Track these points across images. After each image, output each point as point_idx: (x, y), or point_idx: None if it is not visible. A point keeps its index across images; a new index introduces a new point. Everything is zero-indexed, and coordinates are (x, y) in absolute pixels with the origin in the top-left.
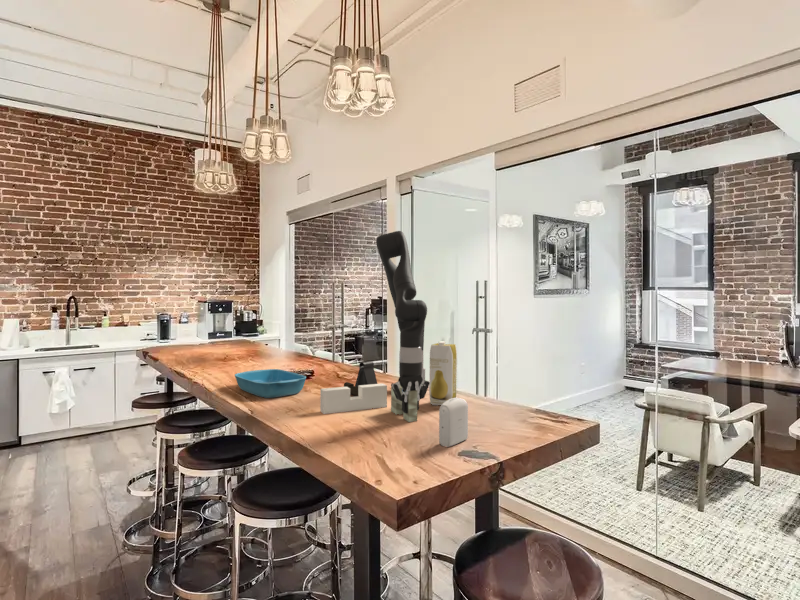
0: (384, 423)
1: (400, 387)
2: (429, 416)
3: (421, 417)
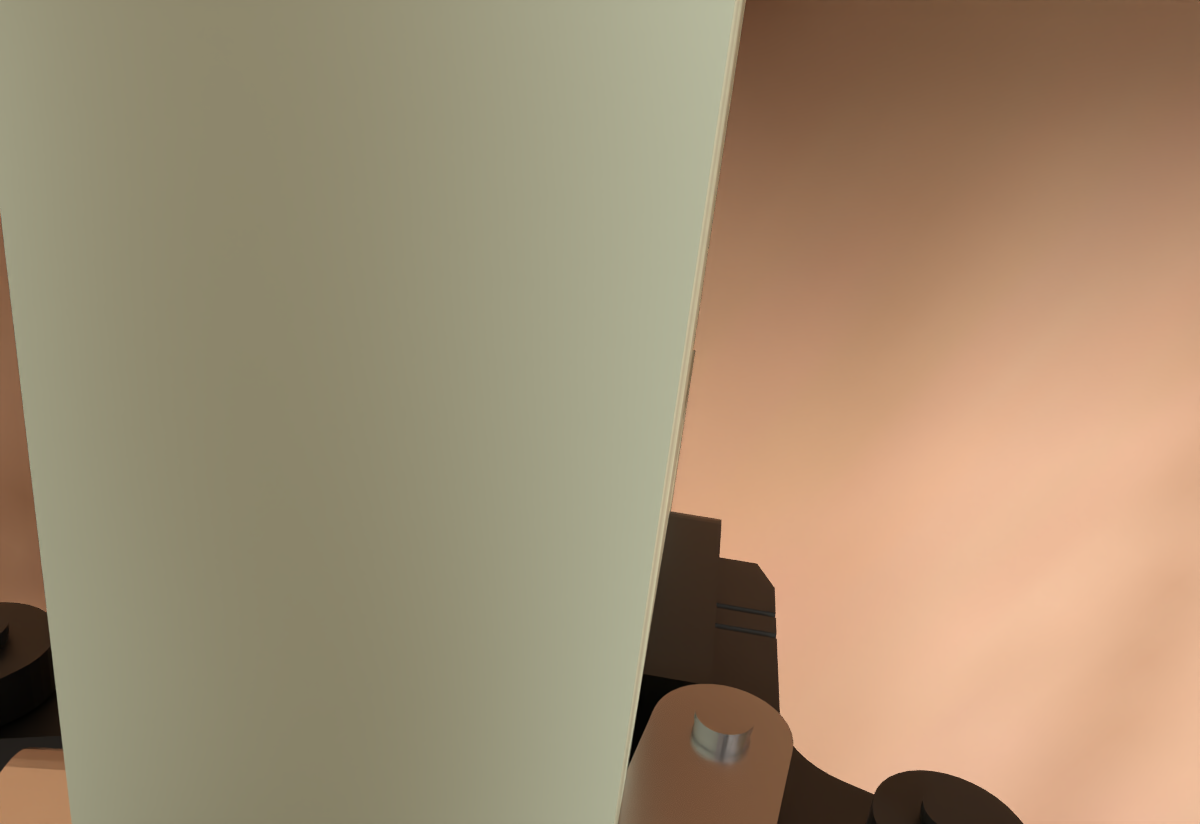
0: (19, 383)
1: (48, 375)
2: (1135, 478)
3: (918, 443)
